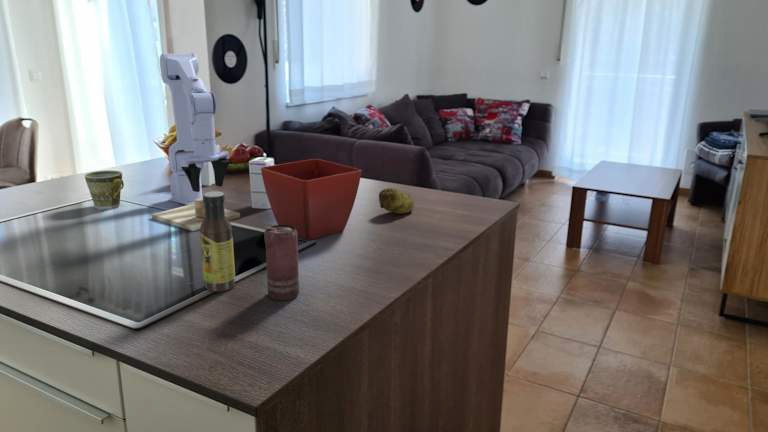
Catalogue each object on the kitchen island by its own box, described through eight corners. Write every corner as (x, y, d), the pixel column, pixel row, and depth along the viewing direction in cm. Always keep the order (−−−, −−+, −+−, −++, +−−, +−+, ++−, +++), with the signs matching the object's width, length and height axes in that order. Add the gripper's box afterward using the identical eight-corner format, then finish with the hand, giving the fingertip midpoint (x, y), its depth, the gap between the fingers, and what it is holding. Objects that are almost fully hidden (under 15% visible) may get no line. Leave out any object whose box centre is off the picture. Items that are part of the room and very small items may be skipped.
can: (268, 289, 119) (265, 223, 115) (299, 288, 120) (297, 223, 116) (265, 302, 113) (261, 233, 109) (298, 301, 114) (296, 233, 110)
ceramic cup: (81, 208, 172) (76, 175, 169) (110, 200, 180) (106, 168, 177) (111, 215, 166) (107, 180, 163) (140, 206, 174) (136, 173, 172)
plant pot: (363, 230, 156) (363, 169, 151) (306, 247, 143) (304, 180, 138) (317, 215, 169) (316, 158, 164) (261, 229, 156) (258, 167, 151)
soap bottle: (222, 180, 207) (218, 126, 202) (209, 186, 199) (205, 130, 194) (200, 178, 209) (196, 125, 204) (187, 184, 201) (182, 129, 195)
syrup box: (269, 209, 174) (267, 161, 169) (251, 208, 175) (248, 160, 171) (276, 204, 179) (274, 157, 175) (258, 203, 180) (256, 156, 176)
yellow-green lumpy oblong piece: (423, 214, 172) (424, 187, 169) (385, 219, 166) (386, 192, 163) (408, 206, 179) (409, 181, 176) (371, 212, 172) (371, 186, 170)
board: (152, 218, 163) (151, 214, 163) (199, 206, 176) (199, 202, 176) (192, 231, 153) (192, 226, 153) (240, 217, 166) (239, 212, 166)
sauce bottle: (202, 283, 121) (194, 190, 116) (233, 279, 124) (227, 187, 118) (206, 295, 116) (198, 198, 110) (238, 290, 118) (232, 195, 112)
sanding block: (195, 216, 161) (194, 199, 160) (207, 213, 165) (206, 196, 163) (212, 221, 158) (210, 204, 156) (223, 218, 161) (222, 200, 159)
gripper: (190, 144, 147) (194, 196, 151) (235, 137, 158) (238, 185, 162) (173, 141, 151) (178, 192, 155) (218, 134, 162) (221, 181, 166)
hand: (207, 188), depth 159 cm, fingers open, 7 cm apart
